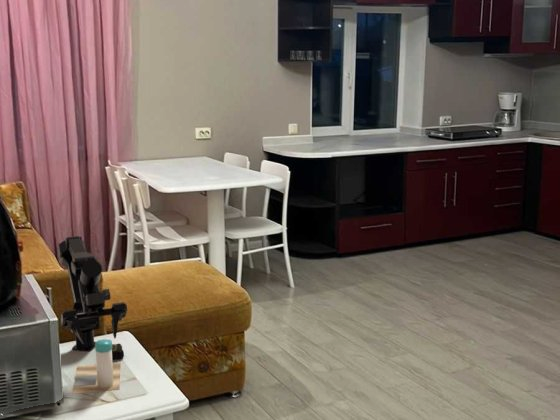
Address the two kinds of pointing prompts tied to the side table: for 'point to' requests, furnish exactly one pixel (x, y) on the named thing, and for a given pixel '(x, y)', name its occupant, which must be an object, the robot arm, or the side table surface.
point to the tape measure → (117, 351)
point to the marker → (104, 363)
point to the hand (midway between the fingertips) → (99, 340)
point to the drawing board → (93, 379)
